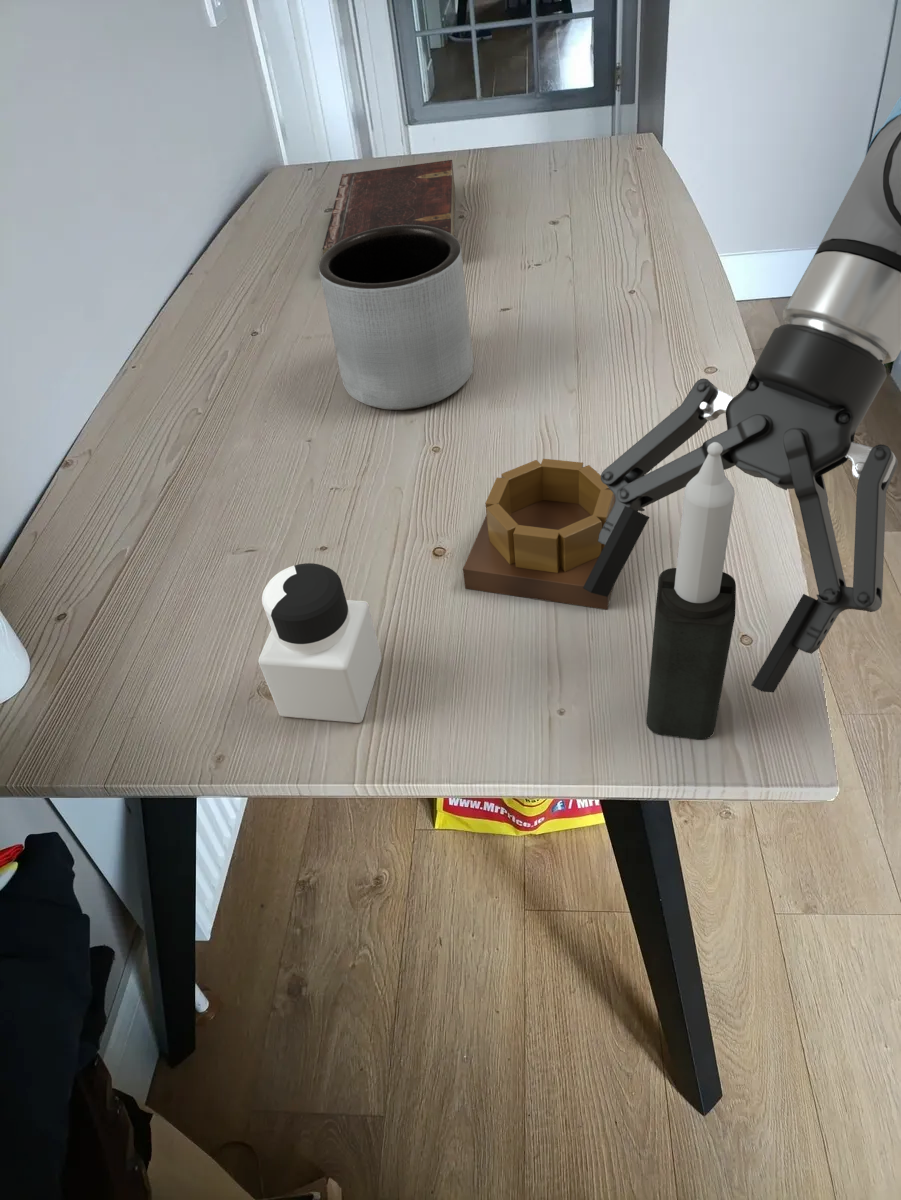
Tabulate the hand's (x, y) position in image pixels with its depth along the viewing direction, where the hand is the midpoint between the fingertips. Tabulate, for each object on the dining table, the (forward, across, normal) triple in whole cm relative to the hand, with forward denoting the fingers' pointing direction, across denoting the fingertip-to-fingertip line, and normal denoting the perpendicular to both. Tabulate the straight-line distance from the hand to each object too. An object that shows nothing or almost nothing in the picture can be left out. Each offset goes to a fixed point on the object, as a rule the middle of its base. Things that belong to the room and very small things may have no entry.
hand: (673, 638), depth 60 cm
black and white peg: (+6, 0, -9) cm, 11 cm away
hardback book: (-28, +88, -43) cm, 102 cm away
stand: (0, +20, -14) cm, 24 cm away
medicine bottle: (+18, +23, +3) cm, 29 cm away
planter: (-8, +54, -23) cm, 59 cm away
